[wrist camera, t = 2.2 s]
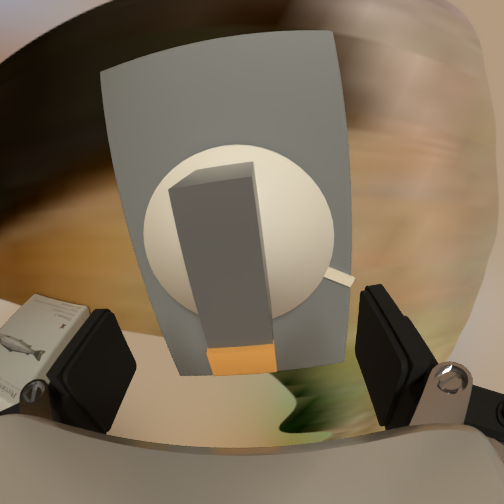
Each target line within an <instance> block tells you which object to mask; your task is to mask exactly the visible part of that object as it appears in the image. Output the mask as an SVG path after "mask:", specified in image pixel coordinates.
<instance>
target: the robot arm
mask: <svg viewBox="0 0 504 504" xmlns="http://www.w3.org/2000/svg"><path fill="white" fill-rule="evenodd" d="M355 354H356V358H357V360H358V363H359V366H360V369H361V372H362V374H363V377H364V380H365V383H366V386H367V389H368V392H369V395H370V398H371V401H372V404H373V407H374V410H375V413H376V416H377V419H378V422H379V425H380V426H385V429H386V430H385V431H380V432H375V433H370V434H365V435H360V436H355V437H350V438H344V439H338V440H331V441H324V442H317V443H309V444H300V445H291V446H279V447H260V448H259V447H258V448H210V447H191V446H179V445H169V444H159V443H152V442H144V441H139V440H132V439H127V438H121V437H116V436H111V435H106V433H107V432H108V431H109V430H110V429H111V426H112V424H113V421H114V419H115V417H116V414H117V412H118V409H119V407H120V405H121V403H122V400H123V398H124V396H125V393H126V391H127V389H128V386H129V384H130V382H131V380H132V378H133V375H134V373H135V371H136V362H135V359H134V357H133V355H132V353H131V351H130V349H129V347H128V345H127V342H126V340H125V338H124V336H123V334H122V331H121V329H120V327H119V325H118V322H117V320H116V317H115V315H114V314H113V313H112V312H111V311H110V310H109V309H95V310H94V311H93V312H92V313H91V315H90V316H89V317H88V318H87V320H86V321H85V322H84V323H83V325H82V326H81V327H80V329H79V330H78V331H77V333H76V334H75V335H74V336H73V338H72V339H71V340H70V342H69V343H68V344H67V346H66V347H65V348H64V350H63V351H62V353H61V354H60V355H59V357H58V358H57V359H56V361H55V362H54V364H53V365H52V366H51V368H50V369H49V371H48V372H47V374H46V376H47V378H48V379H49V381H50V382H49V384H47V382H46V381H45V380H43V379H35V380H32V381H30V382H28V383H27V384H26V385H25V386H24V387H23V388H22V390H21V392H20V397H19V403H17V404H15V405H13V406H11V407H9V408H7V409H4V410H2V411H0V504H504V394H501V393H498V392H494V391H491V390H488V389H485V388H481V387H478V386H475V385H473V378H472V375H471V373H470V372H469V370H468V369H467V368H466V367H464V366H463V365H462V364H459V363H456V362H450V361H449V362H442V363H440V364H438V362H437V361H436V359H435V357H434V356H433V354H432V353H431V351H430V349H429V348H428V346H427V345H426V343H425V342H424V340H423V339H422V337H421V335H420V334H419V332H418V331H417V329H416V328H415V326H414V325H413V323H412V322H411V320H410V319H409V318H408V317H407V316H403V314H402V313H401V311H400V310H399V308H398V307H397V305H396V304H395V302H394V301H393V300H392V298H391V297H390V295H389V294H388V292H387V291H386V290H385V288H384V287H383V285H382V284H377V285H371V286H366V287H365V290H364V291H361V293H360V302H359V315H358V325H357V335H356V344H355Z"/></svg>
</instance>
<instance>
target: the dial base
mask: <svg viewBox="0 0 504 504" xmlns="http://www.w3.org/2000/svg"><path fill="white" fill-rule="evenodd" d="M100 77H101V88H102V97H103V105H104V113H105V120H106V127H107V133H108V139H109V145H110V151H111V156H112V162H113V167H114V172H115V176H116V181H117V186H118V190H119V195H120V199H121V203H122V207H123V211H124V215H125V219H126V223H127V227H128V230H129V234H130V238H131V241H132V245H133V248H134V252H135V255H136V258H137V262H138V265H139V268H140V271H141V274H142V277H143V280H144V283H145V286H146V289H147V292H148V295H149V298H150V301H151V304H152V307H153V309H154V312H155V315H156V318H157V320H158V323H159V325H160V328H161V331H162V333H163V336H164V338H165V341H166V343H167V346H168V348H169V351H170V353H171V355H172V358H173V360H174V362H175V365H176V367H177V369H178V372H179V374H180V376H191V375H193V376H199V375H200V376H201V375H213V372H212V369H211V366H210V363H209V360H208V357H207V354H206V353H207V348H208V346H207V342H206V339H205V336H204V332H203V329H202V326H201V322H200V319H199V315H198V314H196V313H194V312H192V311H191V310H189V309H187V308H185V307H184V306H183V305H181V304H180V303H178V302H177V301H176V300H175V299H174V298H173V297H172V296H171V295H169V294H168V292H167V291H166V290H165V289H164V288H163V287H162V285H161V284H160V282H159V281H158V280H157V278H156V276H155V275H154V273H153V271H152V269H151V267H150V264H149V261H148V258H147V255H146V251H145V246H144V235H143V232H144V220H145V215H146V210H147V208H148V205H149V202H150V199H151V197H152V195H153V193H154V192H155V190H156V188H157V187H158V185H159V184H160V182H161V181H162V180H163V178H164V177H165V176H166V175H167V174H168V173H169V172H170V171H171V170H172V169H173V168H175V167H176V166H177V165H179V164H180V163H181V162H183V161H184V160H186V159H188V158H189V157H191V156H193V155H195V154H197V153H200V152H202V151H205V150H208V149H210V148H214V147H219V146H223V145H234V144H241V145H253V146H258V147H263V148H266V149H269V150H272V151H274V152H277V153H279V154H281V155H283V156H285V157H286V158H288V159H289V160H291V161H292V162H294V163H295V164H297V165H298V166H299V167H300V168H301V169H302V170H304V171H305V172H306V173H307V174H308V175H309V176H310V177H311V178H312V180H313V181H314V182H315V183H316V185H317V186H318V187H319V189H320V190H321V192H322V194H323V196H324V197H325V199H326V201H327V204H328V206H329V209H330V212H331V216H332V220H333V227H334V247H333V253H332V258H331V261H330V264H329V267H328V269H327V271H326V273H325V275H324V277H323V279H322V281H321V282H320V284H319V285H318V286H317V288H316V289H315V290H314V291H313V292H312V294H311V295H310V296H309V297H308V298H307V299H305V300H304V301H303V302H302V303H301V304H300V305H298V306H297V307H295V308H294V309H292V310H290V311H289V312H287V313H285V314H283V315H281V316H278V317H275V318H273V319H272V321H273V335H274V346H275V355H276V364H277V371H283V370H292V369H300V368H308V367H315V366H322V365H329V364H335V363H341V362H344V358H345V349H346V339H347V328H348V316H349V302H350V287H351V285H352V283H353V282H354V280H355V277H353V276H351V252H352V211H351V180H350V162H349V148H348V135H347V125H346V115H345V106H344V98H343V91H342V83H341V77H340V70H339V64H338V58H337V52H336V47H335V41H334V36H333V31H279V32H265V33H254V34H245V35H238V36H231V37H224V38H218V39H212V40H207V41H202V42H197V43H192V44H188V45H183V46H179V47H175V48H171V49H168V50H164V51H160V52H157V53H153V54H150V55H147V56H144V57H140V58H137V59H134V60H131V61H128V62H126V63H123V64H120V65H117V66H115V67H112V68H109V69H107V70H104V71H102V72H100Z"/></svg>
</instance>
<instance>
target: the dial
mask: <svg viewBox="0 0 504 504" xmlns="http://www.w3.org/2000/svg"><path fill="white" fill-rule="evenodd" d="M143 235H144V246H145V251H146V255H147V258H148V261H149V264H150V267H151V269H152V271H153V273H154V275H155V276H156V278H157V280H158V281H159V282H160V284H161V285H162V287H163V288H164V289H165V290H166V291H167V292H168V294H169V295H171V296H172V297H173V298H174V299H175V300H176V301H177V302H178V303H180V304H181V305H183V306H184V307H185V308H187V309H189V310H191V311H192V312H194V313H196V314H198V315H199V319H200V322H201V326H202V329H203V332H204V336H205V339H206V342H207V346H208V348H207V353H206V354H207V357H208V360H209V363H210V366H211V369H212V372H213V375H214V376H226V375H244V374H259V373H271V372H277V364H276V355H275V346H274V335H273V321H272V319H273V318H275V317H278V316H281V315H283V314H285V313H287V312H289V311H290V310H292V309H294V308H295V307H297V306H298V305H300V304H301V303H302V302H303V301H304V300H305V299H307V298H308V297H309V296H310V295H311V294H312V292H313V291H314V290H315V289H316V288H317V286H318V285H319V284H320V282H321V281H322V279H323V277H324V275H325V273H326V271H327V269H328V267H329V264H330V261H331V258H332V253H333V247H334V227H333V220H332V216H331V212H330V209H329V206H328V204H327V201H326V199H325V197H324V196H323V194H322V192H321V190H320V189H319V187H318V186H317V185H316V183H315V182H314V181H313V180H312V178H311V177H310V176H309V175H308V174H307V173H306V172H305V171H304V170H302V169H301V168H300V167H299V166H298V165H297V164H295V163H294V162H292V161H291V160H289V159H288V158H286V157H285V156H283V155H281V154H279V153H277V152H274V151H272V150H269V149H266V148H263V147H258V146H253V145H241V144H234V145H223V146H219V147H214V148H210V149H208V150H205V151H202V152H200V153H197V154H195V155H193V156H191V157H189V158H188V159H186V160H184V161H183V162H181V163H180V164H179V165H177V166H176V167H175V168H173V169H172V170H171V171H170V172H169V173H168V174H167V175H166V176H165V177H164V178H163V180H162V181H161V182H160V184H159V185H158V187H157V188H156V190H155V192H154V193H153V195H152V197H151V199H150V202H149V205H148V208H147V210H146V215H145V220H144V232H143Z"/></svg>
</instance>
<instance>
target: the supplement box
mask: <svg viewBox="0 0 504 504" xmlns="http://www.w3.org/2000/svg"><path fill="white" fill-rule="evenodd" d="M89 316H90V312H89V308H88V307H87V306H83V305H76V304H71V303H67V302H62V301H59V300H55V299H51V298H47V297H44V296H41V295H38V294H34V295H33V296H32V297H31V298H30V299H29V300H28V301H27V302H26V303H24V304H23V305H22V306H21V307H20V309H18V310H17V312H16V313H15V314H14V315H13V316H12V317H11V318H10V319H9V320H8V321H7V322H6V323H5V324H4V325H3V326H2V327H1V328H0V411H2V410H4V409H7V408H9V407H11V406H13V405H15V404H17V403H19V397H20V392H21V390H22V388H23V387H24V386H25V385H26V384H27V383H28V382H30V381H32V380H35V379H43V380H45V381H46V382H47V384H49V382H50V381H49V379H48V378H47V376H46V374H47V372H48V371H49V369H50V368H51V366H52V365H53V364H54V362H55V361H56V359H57V358H58V357H59V355H60V354H61V353H62V351H63V350H64V348H65V347H66V346H67V344H68V343H69V342H70V340H71V339H72V338H73V336H74V335H75V334H76V333H77V331H78V330H79V329H80V327H81V326H82V325H83V323H84V322H85V321H86V320H87V318H88V317H89Z"/></svg>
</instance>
